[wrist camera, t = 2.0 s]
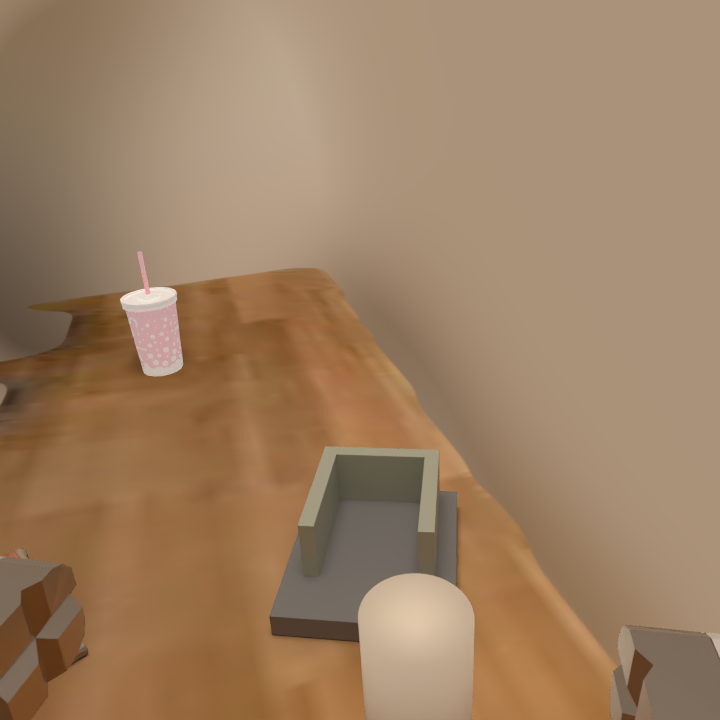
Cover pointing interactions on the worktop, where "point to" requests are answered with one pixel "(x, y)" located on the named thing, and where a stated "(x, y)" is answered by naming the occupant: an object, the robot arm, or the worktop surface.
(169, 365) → the beverage cup
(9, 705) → the robot arm
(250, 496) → the worktop surface
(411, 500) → the cradle jig
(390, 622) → the tall white cylinder
